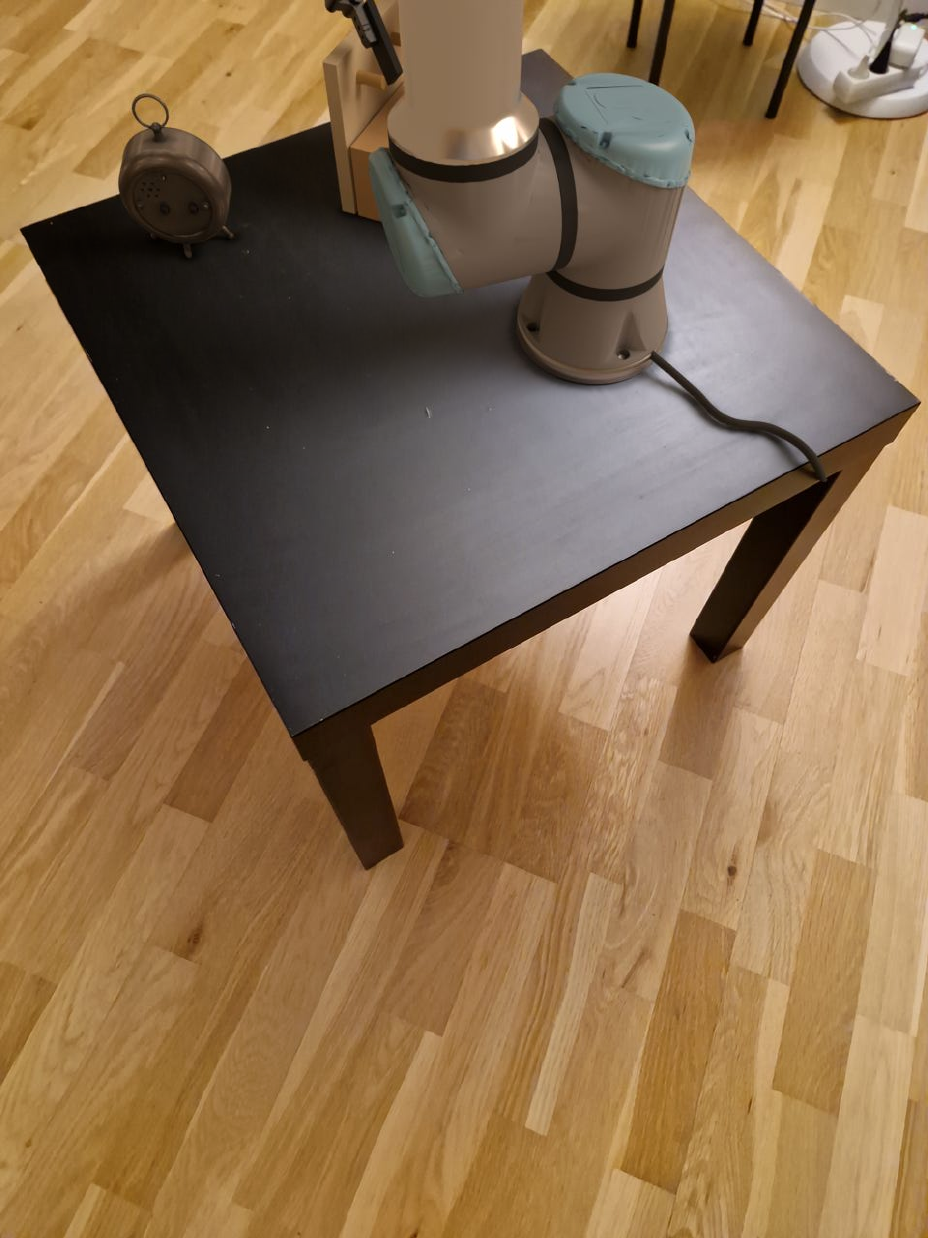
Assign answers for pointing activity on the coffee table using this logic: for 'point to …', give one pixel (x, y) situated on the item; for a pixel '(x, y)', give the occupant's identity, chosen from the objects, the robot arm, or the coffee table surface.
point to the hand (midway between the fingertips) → (452, 56)
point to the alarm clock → (174, 183)
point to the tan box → (360, 110)
